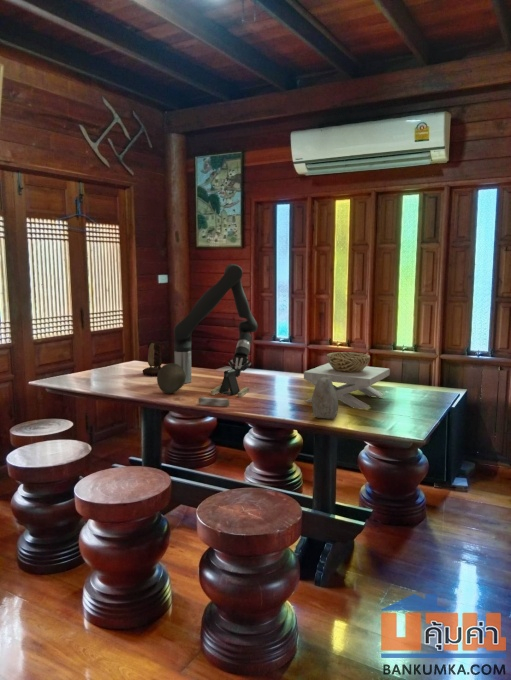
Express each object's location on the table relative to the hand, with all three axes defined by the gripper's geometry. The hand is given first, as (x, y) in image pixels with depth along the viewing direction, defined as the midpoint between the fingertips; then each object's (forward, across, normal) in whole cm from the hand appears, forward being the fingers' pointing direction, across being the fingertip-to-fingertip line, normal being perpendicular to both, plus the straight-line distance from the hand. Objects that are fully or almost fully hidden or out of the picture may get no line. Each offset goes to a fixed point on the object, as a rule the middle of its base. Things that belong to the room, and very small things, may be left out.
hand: (236, 376), depth 275 cm
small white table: (+10, +58, 0) cm, 59 cm away
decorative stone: (+34, +52, -23) cm, 66 cm away
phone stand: (+13, 0, -4) cm, 14 cm away
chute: (+19, 0, -10) cm, 22 cm away
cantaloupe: (+19, -28, -9) cm, 35 cm away
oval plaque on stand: (-13, -57, +22) cm, 62 cm away
